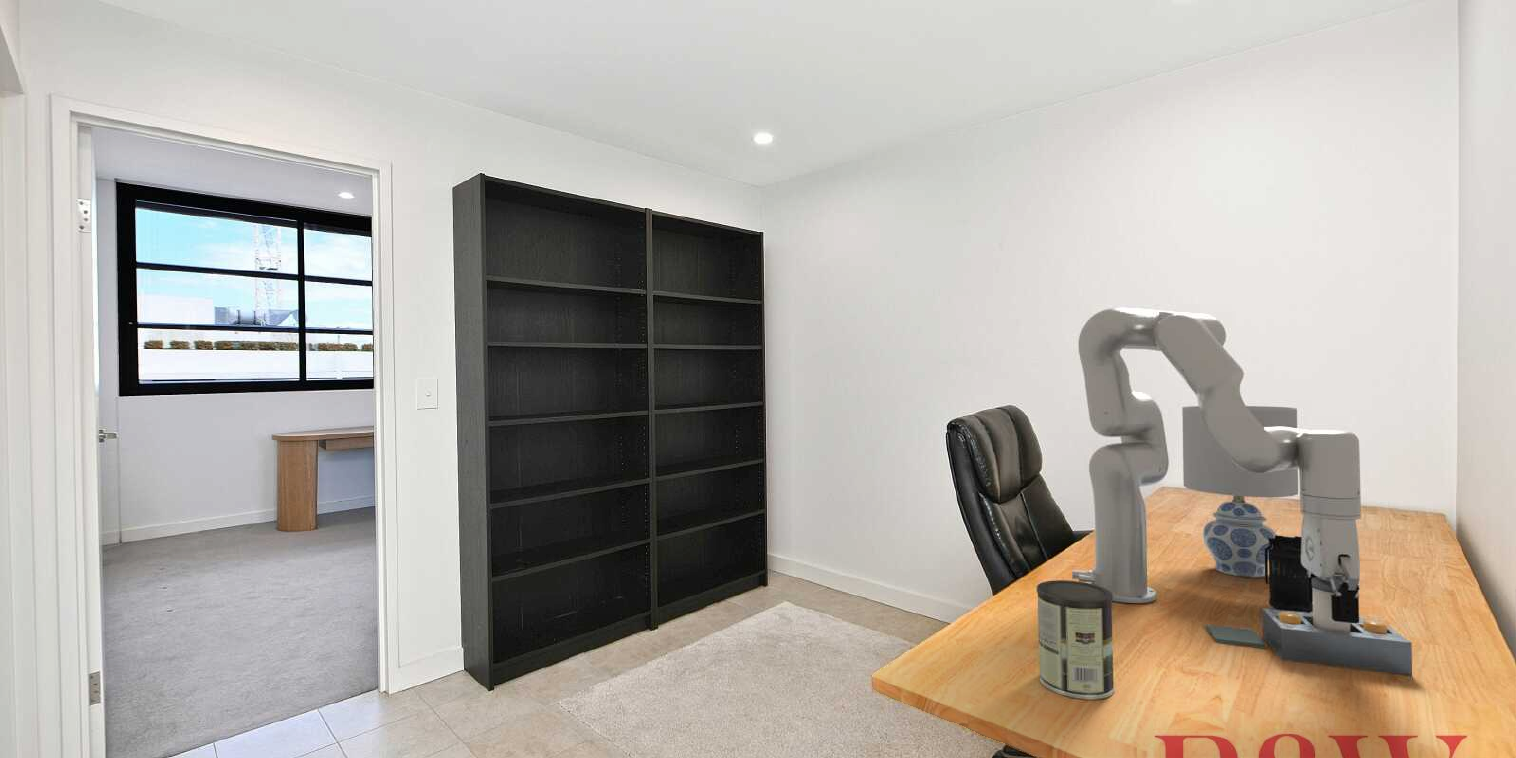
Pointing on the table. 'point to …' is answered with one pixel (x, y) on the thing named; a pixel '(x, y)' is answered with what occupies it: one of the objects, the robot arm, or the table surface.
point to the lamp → (1235, 492)
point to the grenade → (1287, 575)
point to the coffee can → (1075, 639)
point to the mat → (1235, 636)
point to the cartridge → (1325, 606)
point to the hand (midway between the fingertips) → (1332, 611)
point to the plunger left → (1289, 617)
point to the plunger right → (1374, 626)
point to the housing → (1337, 644)
